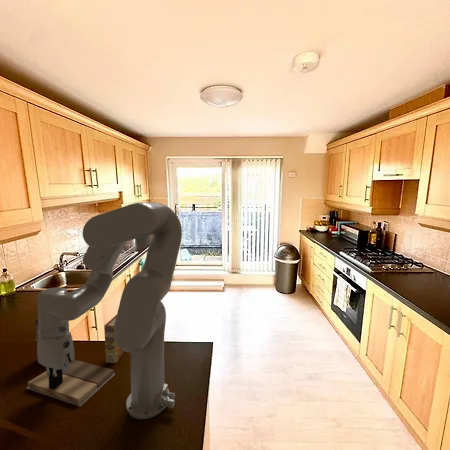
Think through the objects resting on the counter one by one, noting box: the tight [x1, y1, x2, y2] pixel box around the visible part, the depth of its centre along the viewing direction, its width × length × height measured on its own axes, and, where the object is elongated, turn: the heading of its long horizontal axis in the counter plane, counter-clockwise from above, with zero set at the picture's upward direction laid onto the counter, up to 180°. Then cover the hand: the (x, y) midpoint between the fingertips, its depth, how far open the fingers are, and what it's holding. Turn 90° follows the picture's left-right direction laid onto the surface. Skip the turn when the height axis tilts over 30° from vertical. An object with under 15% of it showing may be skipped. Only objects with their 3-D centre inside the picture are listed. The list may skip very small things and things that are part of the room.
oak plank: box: [27, 370, 97, 404], centre depth 76 cm, size 21×6×2 cm, turn 73°
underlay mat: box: [26, 372, 116, 407], centre depth 79 cm, size 22×14×1 cm, turn 73°
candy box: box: [103, 314, 126, 364], centre depth 92 cm, size 9×4×15 cm, turn 176°
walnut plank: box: [62, 359, 115, 388], centre depth 83 cm, size 21×6×2 cm, turn 73°
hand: (56, 385), depth 75 cm, fingers closed
